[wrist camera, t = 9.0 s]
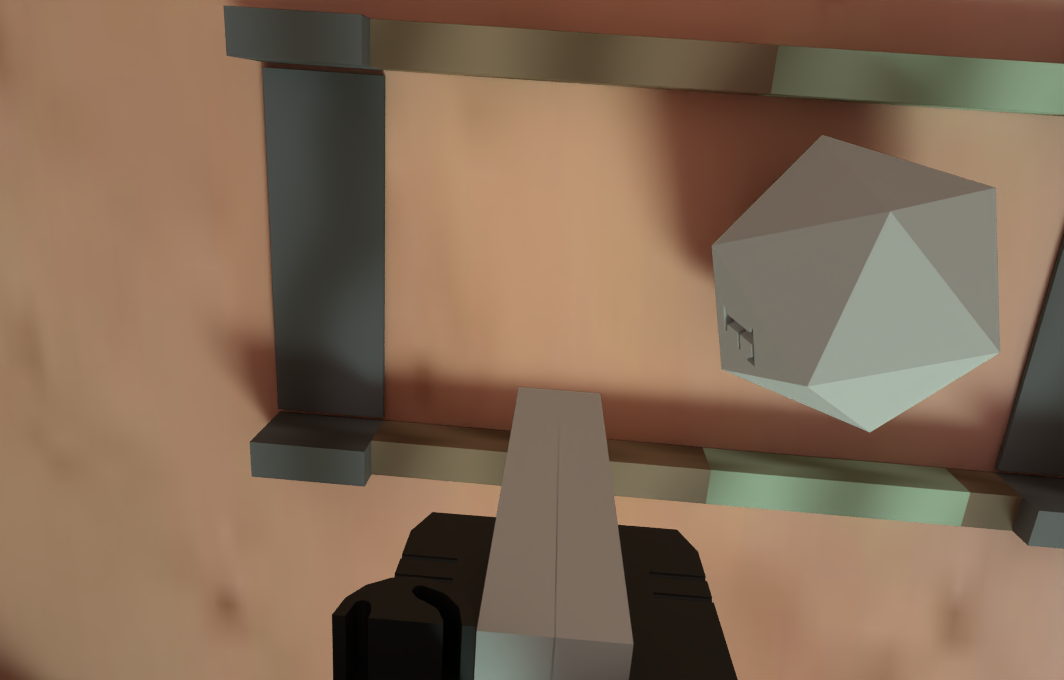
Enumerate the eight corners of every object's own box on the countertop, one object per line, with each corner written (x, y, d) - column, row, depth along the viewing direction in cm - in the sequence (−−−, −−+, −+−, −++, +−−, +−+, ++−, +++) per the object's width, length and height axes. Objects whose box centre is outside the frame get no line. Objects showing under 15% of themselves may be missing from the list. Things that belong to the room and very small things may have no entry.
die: (752, 100, 26) (644, 246, 20) (1046, 97, 22) (1022, 285, 16) (759, 287, 32) (675, 449, 25) (998, 316, 27) (965, 523, 21)
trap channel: (281, 443, 31) (251, 476, 28) (262, 17, 26) (223, 5, 23) (1181, 521, 30) (1245, 564, 27) (1350, 88, 24) (1452, 85, 22)
